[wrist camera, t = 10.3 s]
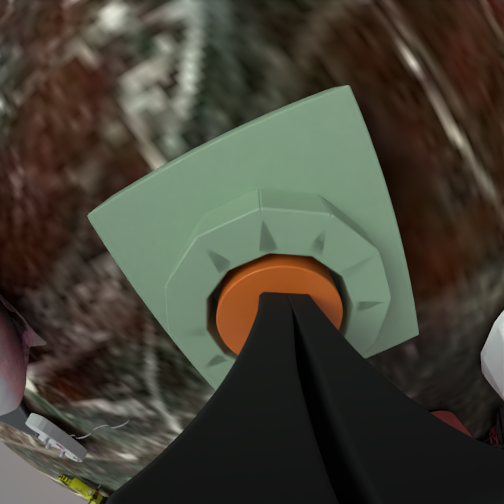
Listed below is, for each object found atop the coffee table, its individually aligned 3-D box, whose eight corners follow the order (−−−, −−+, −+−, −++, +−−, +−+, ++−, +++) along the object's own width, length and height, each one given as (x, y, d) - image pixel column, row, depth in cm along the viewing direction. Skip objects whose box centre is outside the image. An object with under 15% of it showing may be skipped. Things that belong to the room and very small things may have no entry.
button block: (111, 196, 11) (58, 238, 8) (331, 88, 10) (373, 80, 6) (229, 370, 15) (225, 436, 12) (401, 305, 14) (436, 363, 10)
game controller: (27, 418, 19) (16, 439, 17) (58, 368, 16) (41, 398, 14) (78, 451, 21) (71, 473, 19) (131, 416, 18) (121, 447, 15)
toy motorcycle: (140, 515, 29) (159, 515, 25) (130, 535, 25) (148, 539, 22) (64, 467, 28) (70, 460, 24) (50, 486, 24) (55, 483, 21)
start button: (200, 266, 10) (192, 296, 8) (308, 219, 9) (319, 244, 8) (250, 343, 11) (250, 378, 10) (343, 308, 11) (356, 341, 9)
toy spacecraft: (457, 476, 23) (534, 445, 18) (430, 454, 18) (543, 405, 13) (455, 450, 26) (528, 418, 21) (426, 416, 21) (531, 367, 16)
